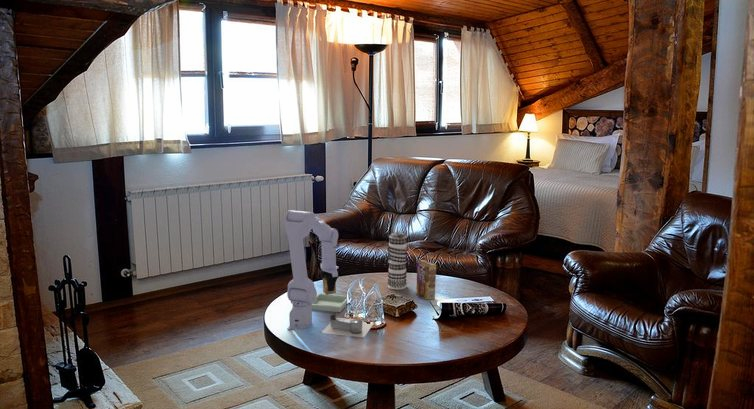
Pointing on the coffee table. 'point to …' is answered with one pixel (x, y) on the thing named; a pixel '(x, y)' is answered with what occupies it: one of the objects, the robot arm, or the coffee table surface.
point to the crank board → (337, 331)
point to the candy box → (426, 279)
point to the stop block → (325, 288)
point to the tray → (329, 302)
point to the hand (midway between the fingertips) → (328, 289)
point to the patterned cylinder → (397, 261)
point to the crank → (346, 324)
